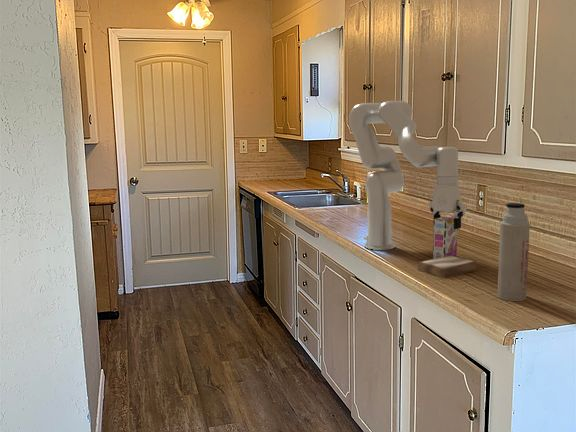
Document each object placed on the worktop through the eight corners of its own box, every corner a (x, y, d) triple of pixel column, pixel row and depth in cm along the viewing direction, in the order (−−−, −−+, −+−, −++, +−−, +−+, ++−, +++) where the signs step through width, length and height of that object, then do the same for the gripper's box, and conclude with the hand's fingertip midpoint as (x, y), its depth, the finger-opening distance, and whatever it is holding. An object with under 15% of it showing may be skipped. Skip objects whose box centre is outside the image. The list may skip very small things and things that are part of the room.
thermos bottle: (531, 297, 169) (536, 203, 164) (516, 302, 164) (520, 206, 159) (507, 291, 175) (511, 200, 170) (491, 296, 170) (495, 203, 166)
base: (418, 270, 201) (418, 261, 200) (449, 263, 209) (449, 255, 209) (444, 277, 191) (444, 268, 190) (476, 270, 200) (476, 261, 199)
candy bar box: (445, 264, 208) (446, 220, 205) (432, 262, 211) (433, 219, 208) (457, 258, 217) (458, 215, 214) (445, 256, 220) (446, 214, 217)
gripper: (422, 180, 214) (422, 225, 217) (458, 183, 200) (458, 231, 202) (436, 178, 218) (436, 223, 221) (473, 181, 204) (472, 228, 206)
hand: (447, 227), depth 211 cm, fingers open, 9 cm apart
